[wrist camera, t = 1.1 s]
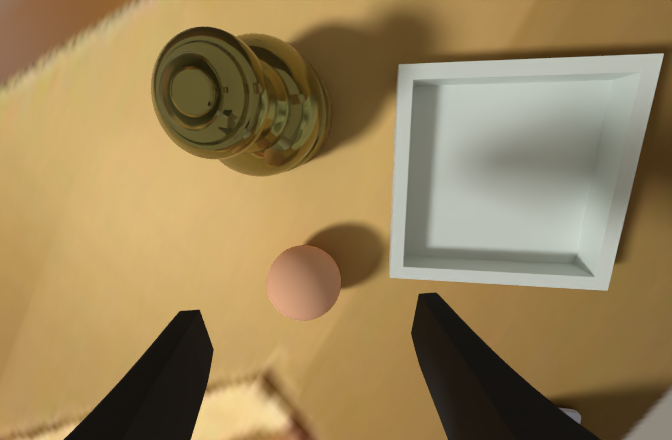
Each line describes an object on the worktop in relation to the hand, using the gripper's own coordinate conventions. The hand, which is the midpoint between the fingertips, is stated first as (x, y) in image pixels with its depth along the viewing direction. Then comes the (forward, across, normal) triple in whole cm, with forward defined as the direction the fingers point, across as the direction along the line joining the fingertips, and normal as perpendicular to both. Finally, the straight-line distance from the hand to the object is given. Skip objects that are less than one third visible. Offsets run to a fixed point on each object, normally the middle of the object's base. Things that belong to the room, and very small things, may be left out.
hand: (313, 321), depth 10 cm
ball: (+11, 0, +7) cm, 13 cm away
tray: (+10, -12, 0) cm, 16 cm away
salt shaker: (+15, +2, -3) cm, 15 cm away
